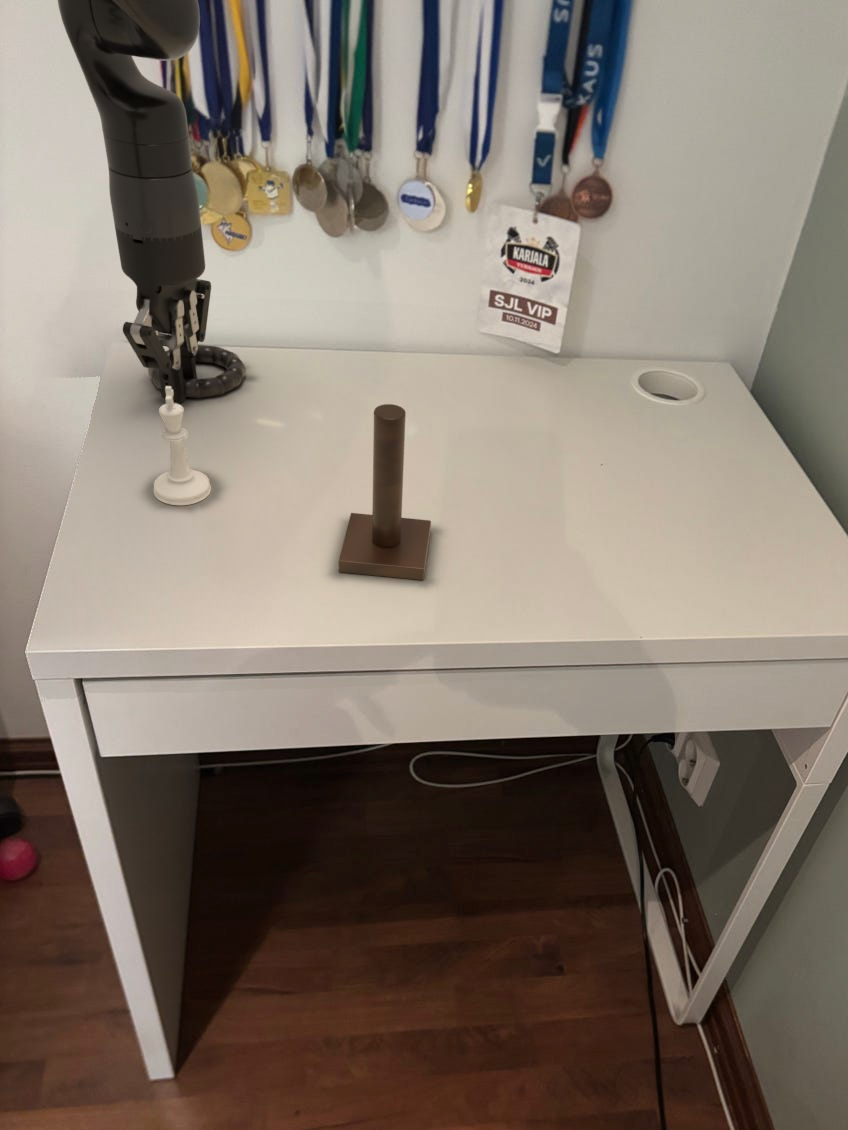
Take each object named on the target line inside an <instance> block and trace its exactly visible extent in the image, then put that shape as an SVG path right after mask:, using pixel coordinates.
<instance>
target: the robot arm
mask: <svg viewBox="0 0 848 1130" xmlns="http://www.w3.org/2000/svg"><path fill="white" fill-rule="evenodd" d="M57 5H58V10H59V14H60V17H61V21H62V24H63V27H64V29H65V33H66V36H67V38H68V41H69V43H70V44H71V47H72V50H73V52H74V54H75V57H76V59H77V61H78V64H79V67H80V69H81V71H82V74H83V76H84V79H85V81H86V83H87V86H88V89H89V91H90V94H91V96H92V98H93V101H94V103H95V106H96V108H97V111H98V114H99V117H100V121H101V122H100V124H101V129H102V135H103V142H104V148H105V154H106V159H107V167H108V183H109V185H108V186H109V187H108V189H109V198H110V199H109V200H110V206H111V212H112V218H113V224H114V231H115V235H116V242H117V249H118V254H119V260H120V267H121V270H122V272H123V274H124V275H125V276H126V277H128V278H129V279H130V280H131V281H132V282H133V283H134V284H135V286H136V299H135V306H136V309H137V311H138V312H137V315H136V317H135V319H134V321H133V322H130V321H125V322H124V323H123V325H122V333H123V335H124V336H125V337H124V338H125V339H126V340H127V342H128V343H129V345H130V347H131V348H132V350H133V352H134V353H135V355H136V357H137V358H138V360H139V362H140V364H141V365H142V367H143V368H145V369H148V368H153V369H158V371H159V377H160V384H161V389H160V391H161V395H162V398H163V399H164V400H165V398H166V391H165V387H166V386H171V388H172V390H173V393H174V395H173V403H176V404H181V403H183V402H184V401H185V400H186V398H187V397H186V395H185V387H184V379H183V378H186V379H196V380H198V374H197V373H198V372H197V365H196V362H195V356H194V355H196V354H197V351H198V345H199V344H198V343H199V342H200V343H203V342H204V341H205V339H206V334H207V326H208V317H209V310H210V309H209V308H210V300H211V292H212V283H211V281H209V280H204V279H199V278H201V276H202V275H203V274H204V272H205V270H206V260H205V249H204V240H203V230H202V229H203V228H202V221H201V212H200V203H199V194H198V193H199V192H198V188H197V184H196V180H195V176H194V170H193V169H194V168H193V163H192V161H193V160H192V152H191V143H190V134H189V125H188V116H187V111H186V107H185V104H184V102H183V100H182V99H181V98H180V96H178V95H177V94H176V93H174V92H173V91H171V90H169V89H167V88H165V87H163V86H161V85H158V84H157V83H154V82H153V81H151V80H150V79H148V78H147V77H145V75H143V74H142V73H141V71H140V69H139V68H138V66H137V64H136V62H135V60H134V58H133V57H136V58H143V59H147V60H148V59H149V60H154V61H162V62H163V61H164V62H165V61H166V62H167V61H168V62H169V61H175V60H179V59H181V58H183V57H184V56H185V55H187V54H188V53H189V52H190V51H191V50H192V48H193V47H194V45H195V44H196V41H197V39H198V36H199V33H200V26H201V13H200V5H199V0H57ZM197 344H198V345H197ZM164 347H167V348H168V350H169V351H170V356H169V355H167V353H166V351H167V350H166V349H165V348H164Z"/></svg>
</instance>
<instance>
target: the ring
mask: <svg viewBox="0 0 848 1130" xmlns="http://www.w3.org/2000/svg"><path fill="white" fill-rule="evenodd" d="M197 345H198V351H197V354H196V355H194V356H195V363H206V364H215V365H218V366H219V367H220V366H221V367H222V368H224V369H226V371H224V372H222V373H221V374H218V375H216V376H213V377H212V376H211V377H206V378H199V379H198V378H197V380H196V379H186V378H183V379H184V387H185V395H186V398H196V399H202V398H208V397H214V396H221V395H223V394H225V393H228V392H229V391H232V390H233V389H236V388H238V387H239V386H240V385H241V383H242V381H243V379H244V378H245V375H246V372H247V368H246V365H245V364H244V363H243V361H242V360H241V358H240V357H239V356H238V354H237V353H235V352H233V351H230V350H227V349H225V348H222V347H220V346H217V345H206V344H198V343H197ZM165 351H166V353H167V355H169V356H170V351H169V349H167V350H165ZM147 373H148V375H149V377H150V379H151V381H152V382H153V385H154V386H155V387H156V388H157V389H158V390H159V389H160V390H161V384H160V377H159V371H158V369H153V368H147Z"/></svg>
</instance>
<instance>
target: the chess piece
mask: <svg viewBox="0 0 848 1130" xmlns="http://www.w3.org/2000/svg"><path fill="white" fill-rule="evenodd" d="M165 391H166V398H165V399H164V401H165V403H164V404H161V406H160V407H159V408H158V414H159V415H160V417H161V419H162V421H163V422H164V424H165V427H166V428H165V429H163V431H162V432H161V438H162V440H164V441H167V442H169V452H170V453H169V460H170V461H169V465H170V466H169V470H168V471H166V472H163V473H162V474H160V475H159V476H158V477H156V478H155V480H154V482H153V495H154V496H155V498H156V499H157V500H158V501H160V502H162V503H165V504H167V505H170V506H171V505H172V506H189V505H193V504H197V503H200V502H202V501H203V500H205V499H206V498H208V497H209V495H210V493H211V491H212V486H211V484H210V483H211V482H210V479H209V477H208V476H207V475H206V474H204V472H203V473H202V472H201V471H199V470H195V469H191V468H190V466H189V463H188V459H187V455H186V453H185V449H184V445H183V441H185V440H186V439H187V438H188V436H189V433H188V431H187V430H186V429H185V428H183V427H181V425H182V421H183V416H184V413H185V408H184V407H183V405H181V404H180V403H176V402H173V395H174V393H173V390H172V388H171V386H166V387H165Z"/></svg>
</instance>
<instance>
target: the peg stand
mask: <svg viewBox="0 0 848 1130" xmlns="http://www.w3.org/2000/svg"><path fill="white" fill-rule="evenodd" d="M405 435H406V410H405V409H404V408H403V407H402V406H399V405H397V404H392V403H385V404H380V405H378V406H376V407H375V408H374V410H373V439H372V441H373V445H372V446H373V447H372V449H373V450H372V453H373V454H372V508H371V509H372V510H371V511H372V514H369V513H368V514H367V513H358V512H351V513H350V515H349V519H348V522H347V527H346V530H345V535H344V539H343V543H342V547H341V550H340V554H339V558H338V572H339V573H346V574H357V575H364V576H365V575H366V576H368V575H369V576H376V577H387V578H397V579H407V580H408V579H409V580H419V581H423V580H424V578H425V572H426V565H427V564H426V563H427V558H428V551H429V544H430V537H431V530H432V529H431V527H432V521H431V520H430V519H419V518H409V517H408V518H407V517H403V516H402V514H403V492H404V491H403V490H404V489H403V487H404V467H405V466H404V465H405V464H404V463H405V462H404V461H405V438H406V436H405Z"/></svg>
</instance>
